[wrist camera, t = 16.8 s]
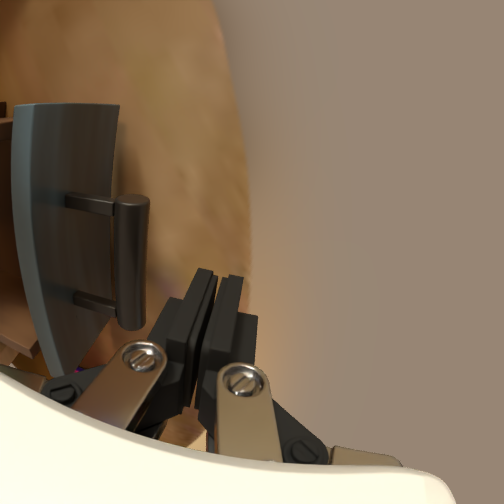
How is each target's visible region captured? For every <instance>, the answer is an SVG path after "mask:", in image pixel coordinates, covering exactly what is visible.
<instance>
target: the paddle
mask: <svg viewBox="0 0 504 504" xmlns="http://www.w3.org/2000/svg"><path fill="white" fill-rule="evenodd" d="M18 353H19V352H18V351H16V350H14V349H12V348H11V347H9V346H7V345H5V344H4V343H2V342H0V364H3V365H6V366H9V365H10V363H11V362H12V361H13V360H14V358H15V357H16V356H17V355H18Z"/></svg>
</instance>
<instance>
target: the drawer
mask: <svg viewBox="0 0 504 504" xmlns="http://www.w3.org/2000/svg"><path fill="white" fill-rule="evenodd" d="M119 109H120V105H116V104H98V103H34V104H24V105H16V106H15V107H14V116H13V117H9V118H0V342H2V343H4V344H5V345H7V346H9V347H11V348H12V349H14V350H16V351H18V352H20V353H22V354H24V355H26V356H28V357H29V358H31V359H34V357H35V356H36V355H37V353H38V352H39V351H40V350H42V353H43V356H44V359H45V362H46V364H47V367H48V370H49V372H50V375H51V376H52V377H54V378H56V377H59V376H63V375H67V374H71V373H74V372H75V370H76V369H77V367H78V366H79V364H80V363H81V361H82V359H83V358H84V356H85V355H86V353H87V352H88V350H89V349H90V347H91V346H92V344H93V343H94V341H95V340H96V338H97V337H98V335H99V334H100V332H101V331H102V330H103V328H104V327H105V325H106V324H107V322H108V321H109V319H110V318H111V317H114V318H116V317H117V321H118V324H119V325H120V327H121V328H123V329H125V330H128V331H136V330H139V329H141V328H142V327H143V326H144V325H145V323H146V261H147V239H148V223H149V209H150V200H149V198H148V197H145V196H142V195H138V194H125V195H121V196H118V197H116V199H115V198H111V183H112V169H113V157H114V147H115V138H116V130H117V122H118V115H119ZM110 216H112V217H113V216H114V272H115V294H116V301H114V300H112V289H111V269H110Z"/></svg>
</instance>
